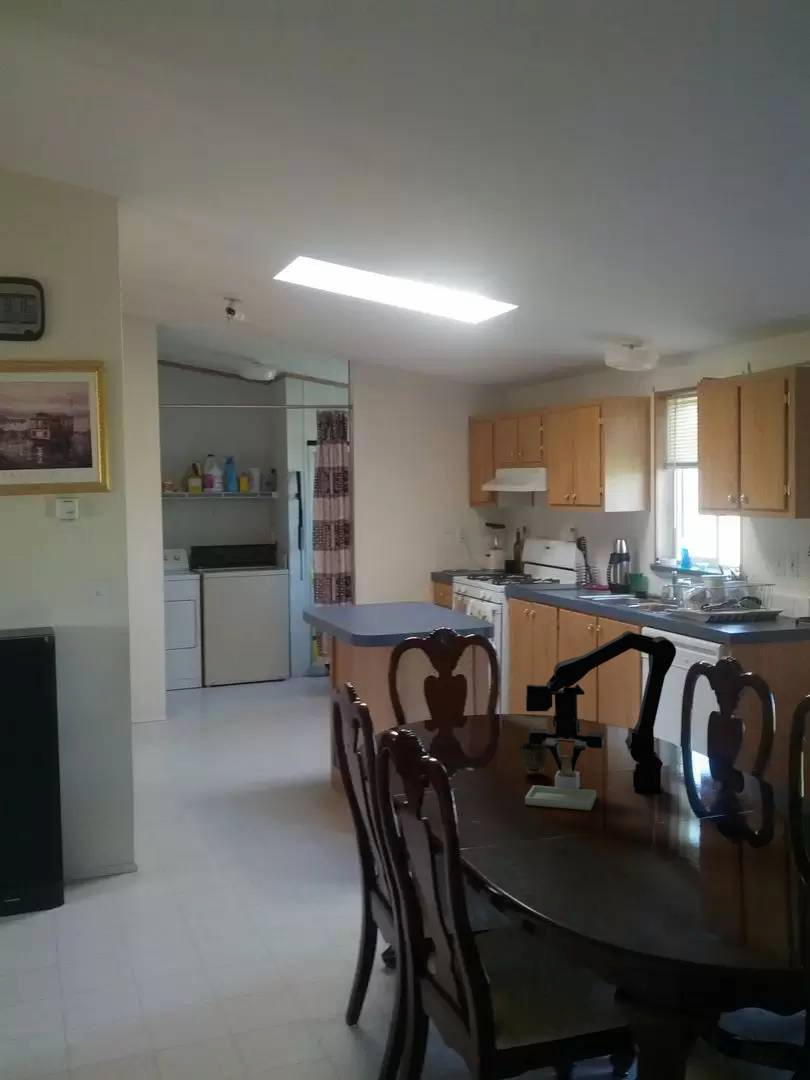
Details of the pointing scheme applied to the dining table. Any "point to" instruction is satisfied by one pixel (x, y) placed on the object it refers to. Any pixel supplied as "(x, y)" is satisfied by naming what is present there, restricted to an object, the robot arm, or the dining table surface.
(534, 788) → the tray
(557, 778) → the grey square sleeve
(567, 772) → the dowel
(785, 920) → the dining table surface
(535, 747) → the cup
